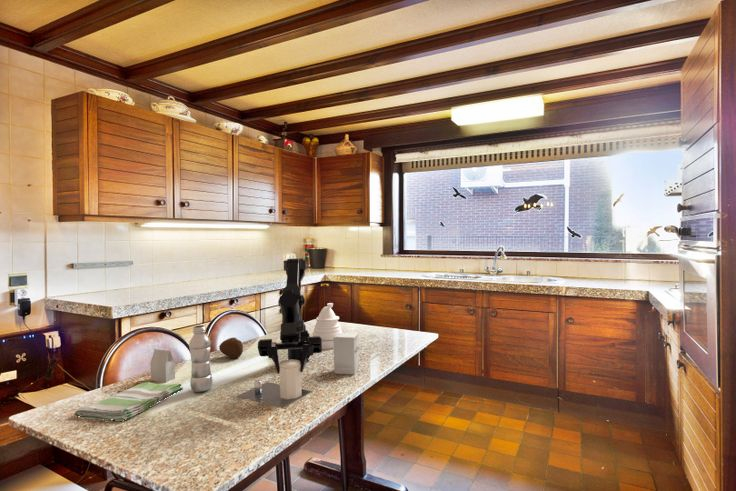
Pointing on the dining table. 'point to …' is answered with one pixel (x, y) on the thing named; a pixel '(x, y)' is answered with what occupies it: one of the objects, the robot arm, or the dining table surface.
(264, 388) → the plate
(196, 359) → the plastic bottle
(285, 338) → the robot arm
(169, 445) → the dining table surface
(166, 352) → the grey gabled carton
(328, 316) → the honey pot
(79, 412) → the dish towel
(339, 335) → the supplement box
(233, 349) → the potato
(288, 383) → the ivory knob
